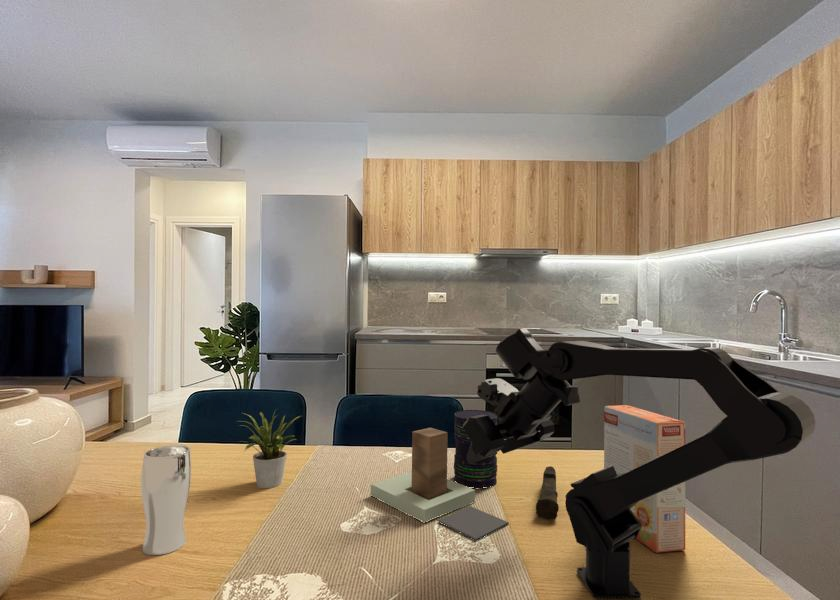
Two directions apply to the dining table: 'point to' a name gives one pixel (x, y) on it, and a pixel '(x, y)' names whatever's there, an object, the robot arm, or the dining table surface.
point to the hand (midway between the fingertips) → (485, 456)
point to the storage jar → (464, 472)
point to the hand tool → (548, 496)
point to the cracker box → (637, 445)
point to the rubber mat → (473, 522)
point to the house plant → (269, 452)
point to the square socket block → (403, 499)
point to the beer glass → (165, 497)
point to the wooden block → (429, 463)
